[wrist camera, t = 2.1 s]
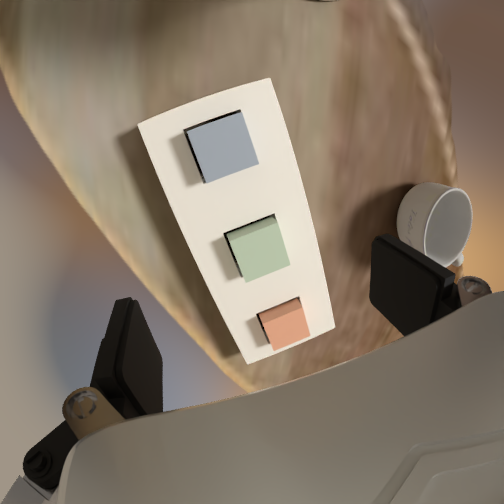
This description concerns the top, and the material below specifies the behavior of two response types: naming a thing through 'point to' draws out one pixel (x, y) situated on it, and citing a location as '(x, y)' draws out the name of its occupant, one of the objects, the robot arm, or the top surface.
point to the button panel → (243, 213)
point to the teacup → (436, 221)
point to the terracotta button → (285, 324)
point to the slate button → (223, 147)
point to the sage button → (259, 249)
